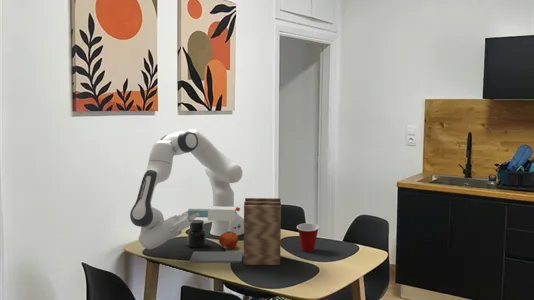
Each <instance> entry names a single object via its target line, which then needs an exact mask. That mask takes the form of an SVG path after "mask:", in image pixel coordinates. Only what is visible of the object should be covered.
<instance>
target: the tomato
mask: <svg viewBox="0 0 534 300" xmlns="http://www.w3.org/2000/svg"><path fill="white" fill-rule="evenodd" d="M238 242H239V235H237V234H236V233H233V232H231V231H229V232H225V233H223V234H222V235H221V236H219V244H220V246H221V247H222V248H224V249H227V250H229V249H234V248H236V247H237V245H238Z"/></svg>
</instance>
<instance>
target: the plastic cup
mask: <svg viewBox="0 0 534 300" xmlns="http://www.w3.org/2000/svg"><path fill="white" fill-rule="evenodd" d="M296 229H297V231H298V235H299V243H300V247H301V251H302V252H304V253H305V252H306V253H312V252H314V250H315V245H316V243H317V236H318V231H319V229H320V226H319V224H317V223H316V224H315V223H311V222H310V223H309V222H307V223H300V224H298V225H297V226H296Z"/></svg>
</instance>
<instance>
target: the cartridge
mask: <svg viewBox="0 0 534 300" xmlns="http://www.w3.org/2000/svg"><path fill="white" fill-rule="evenodd" d="M187 211H188V215H189V216H191V215H193V214H195V213H196V212H199V213H200V216H198V217H197V218H203V219H205V218H207V221H213V220H216V221H235V219H236V212H237V211H236V206H234V207H219V206H213V205H212V206H211V205H210V206H209V207H208V208H188V209H187Z"/></svg>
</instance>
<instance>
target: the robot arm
mask: <svg viewBox="0 0 534 300" xmlns="http://www.w3.org/2000/svg"><path fill="white" fill-rule="evenodd" d="M188 153H189V154H191V155H193V157H195V159H196V160H197V161H199V163H201V165H202V166H203V167H205V171H204V172H205V174H206V175H207V177H208V178H209V182H210V186H211V189H212V190H211V191H212V206H219V207H236V206H235V198H234V197H235V192H234V190H233V188H232V187H231V184H235V183H238V182H240V180H241V179H242V177H243V169H242V167H241V166H240V165H239V164H237V163H235V161H233V160H232V159H230V158H229V157H228V156H227V155H225V154H224V153H223V152H221V151H220V150H219V149H218V148H217V147H216V146H215V145H214V144H213V143H212V142H211V141H210V140H209V138H207V137H206V136H205V134H203V133H201V131H199V130H197V129H195V128H192V129H189V130H182V131H175V132H173V133H170V134H166V135H164V136H162V137H161V138H160V140H157V141H155V142H154V144H153V145H152V148H151V151H150V154H149V159H148V162H147V167H146V170H145V173H144V175H143V177H142V180H141V182H140V187H139V189H138V190H139V191H138V194H137V198H136V200H135V203H134V204H133V206H132V208H131V210H130V214H129V218H130V222H132V225H134V226H136V227H140V232H139V236H138V241H139V244H140V245H142V247H143V248H145V249H147V250H153V249H155V248H157V247H159V246H161V245H164V244H165V243H166V242H167V241H169V240H173V239H174V238H176V237H178V236H180V235H182V233H183V230H185V229H187V228H189V227H190V224H191V222H192V221H193V220H196V219H197V218H199V217H198V216H200V213H199V212H196V213H195V214H193V215H191V216H189V215H188V210H187V211H185V212H182V213H180V214H178V215H177V214H175V215H173V216H170V217H168V218H166V219H165V220H164V215H163V213H162V211H160V210H159V209H157V208H155V207H152V199H153V196H154V192H155V188H156V186H157V185H158V184H160V183H163V182H165V181H167V180H168V179H169V178H170V175H171V173H172V170H173V169H172V167H173V163H174V161H173V160H174V157H175V156H179V155H180V156H181V155H184V154H188ZM240 210H241V207H239V206H237V207H236V219H235V221H216V220H211V221H212V222H211V228H210V232H209V234H210V235H213V236H216V237H220V236H221V235H222V234H223V233H225V232H229V231H231V232H233V233H236V234H237V236H241V235H244V217H243V216H241V215H240V214H238V212H240Z"/></svg>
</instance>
